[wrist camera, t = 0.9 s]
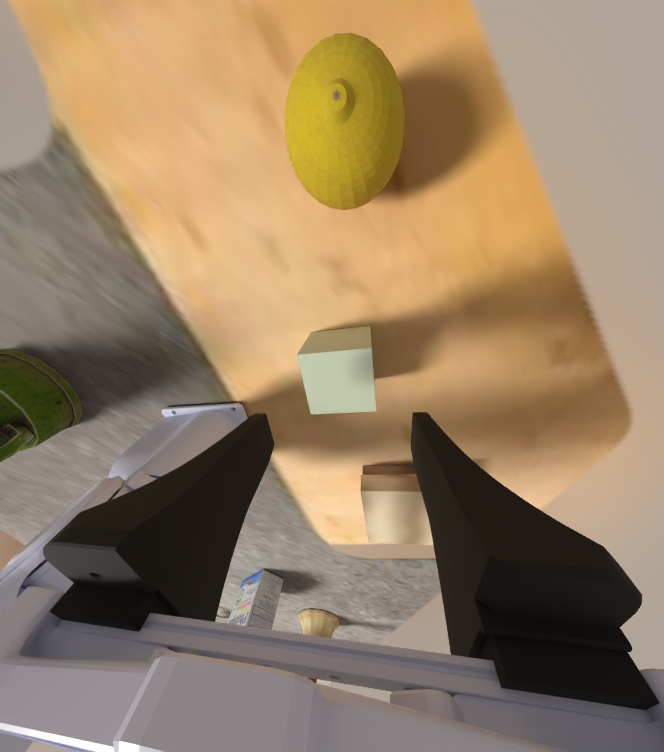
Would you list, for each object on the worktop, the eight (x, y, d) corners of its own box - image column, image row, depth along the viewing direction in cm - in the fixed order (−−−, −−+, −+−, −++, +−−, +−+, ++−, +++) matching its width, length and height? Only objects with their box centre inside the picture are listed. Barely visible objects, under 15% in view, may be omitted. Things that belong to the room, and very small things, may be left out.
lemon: (413, 134, 14) (458, 28, 7) (366, 232, 17) (366, 223, 10) (329, 80, 14) (291, -92, 7) (293, 190, 16) (239, 150, 9)
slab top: (368, 525, 30) (368, 542, 29) (361, 474, 26) (360, 491, 24) (446, 527, 29) (451, 545, 27) (450, 474, 25) (457, 491, 23)
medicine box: (263, 567, 42) (241, 639, 34) (284, 578, 43) (267, 650, 35) (241, 580, 45) (217, 648, 38) (261, 590, 46) (241, 658, 39)
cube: (321, 382, 23) (310, 414, 19) (311, 331, 21) (296, 354, 17) (374, 378, 22) (376, 411, 18) (370, 325, 20) (371, 347, 16)
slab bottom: (368, 511, 32) (369, 526, 30) (362, 461, 28) (362, 476, 26) (441, 512, 31) (446, 529, 29) (446, 460, 26) (452, 476, 25)
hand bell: (348, 622, 48) (341, 775, 34) (319, 629, 52) (302, 770, 38) (319, 604, 46) (299, 760, 32) (290, 612, 50) (261, 757, 36)
